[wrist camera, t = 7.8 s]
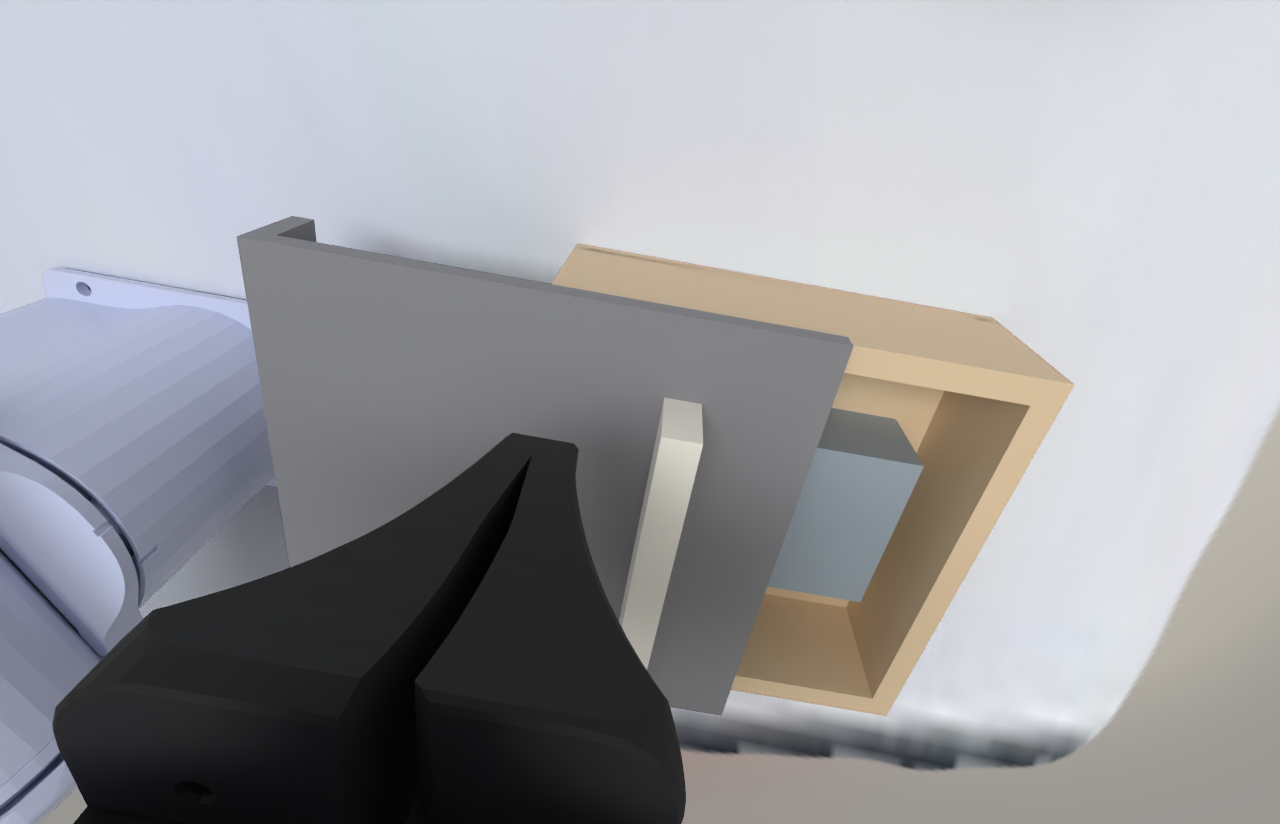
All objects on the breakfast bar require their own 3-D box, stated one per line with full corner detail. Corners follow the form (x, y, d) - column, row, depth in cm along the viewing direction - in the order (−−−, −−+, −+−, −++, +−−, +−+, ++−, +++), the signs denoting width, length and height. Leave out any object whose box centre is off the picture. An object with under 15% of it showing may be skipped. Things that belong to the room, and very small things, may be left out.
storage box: (542, 559, 27) (514, 653, 23) (577, 243, 20) (546, 290, 16) (855, 613, 27) (886, 715, 23) (992, 317, 21) (1074, 384, 16)
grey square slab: (335, 595, 24) (268, 694, 20) (292, 216, 17) (176, 258, 13) (718, 659, 24) (724, 770, 21) (833, 312, 17) (874, 382, 13)
